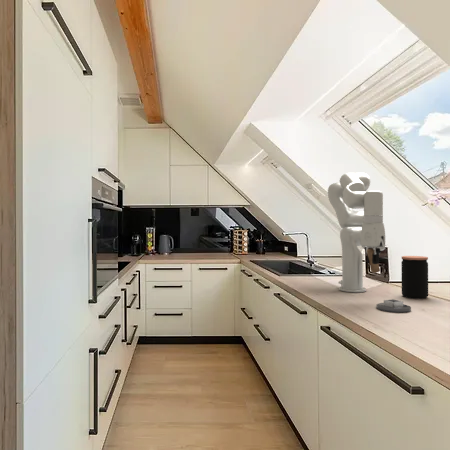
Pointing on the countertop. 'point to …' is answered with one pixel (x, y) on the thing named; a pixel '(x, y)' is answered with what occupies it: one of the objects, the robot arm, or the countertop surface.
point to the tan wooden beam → (373, 267)
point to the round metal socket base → (393, 306)
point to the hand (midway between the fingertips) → (373, 262)
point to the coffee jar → (415, 277)
